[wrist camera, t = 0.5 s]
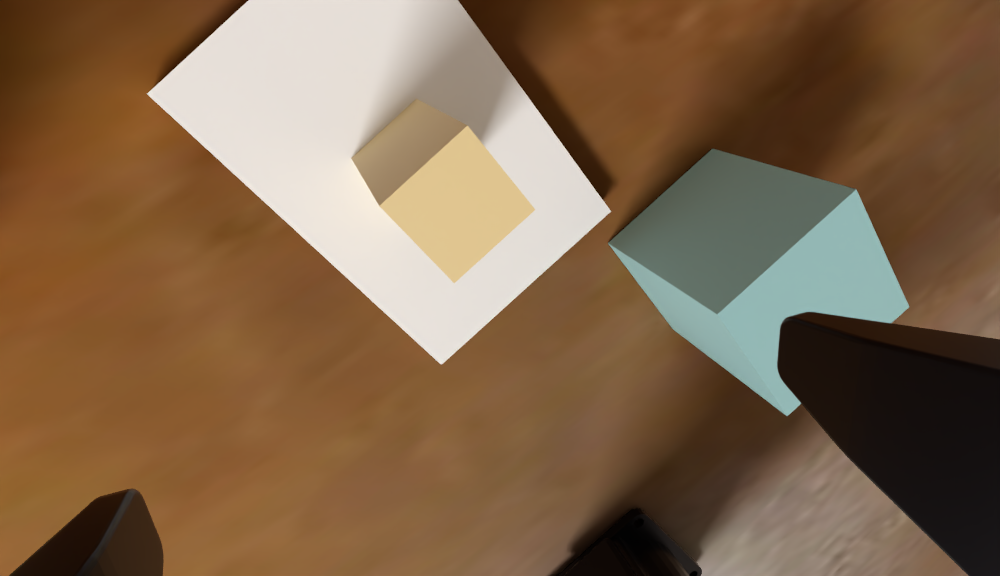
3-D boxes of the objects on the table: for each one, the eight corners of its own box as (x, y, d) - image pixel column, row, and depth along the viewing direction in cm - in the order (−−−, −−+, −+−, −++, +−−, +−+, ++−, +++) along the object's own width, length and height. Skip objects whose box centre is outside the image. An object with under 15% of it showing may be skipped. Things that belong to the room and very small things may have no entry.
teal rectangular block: (767, 243, 26) (909, 306, 20) (672, 329, 26) (787, 416, 20) (712, 148, 24) (856, 188, 18) (607, 242, 24) (717, 314, 18)
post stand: (600, 205, 23) (707, 264, 17) (436, 354, 23) (489, 461, 17) (369, -110, 17) (417, -176, 12) (152, 90, 17) (94, 123, 12)
